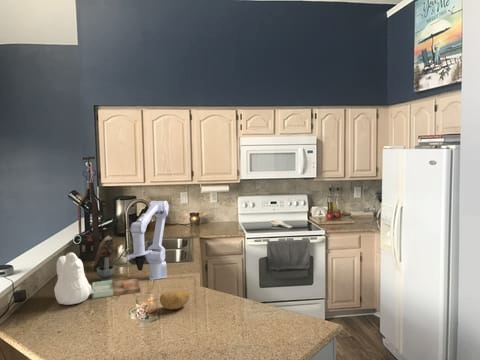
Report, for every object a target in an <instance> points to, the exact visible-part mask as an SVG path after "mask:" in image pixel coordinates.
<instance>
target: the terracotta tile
mask: <svg viewBox="0 0 480 360" xmlns="http://www.w3.org/2000/svg"><path fill="white" fill-rule="evenodd" d="M126 280H127V281H123V286H124V288H127V287H133V282H132V280H130V279H126Z"/></svg>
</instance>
